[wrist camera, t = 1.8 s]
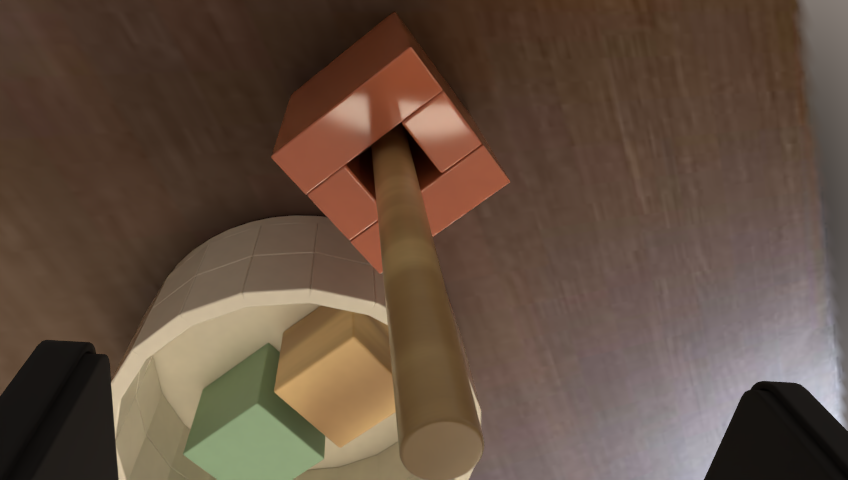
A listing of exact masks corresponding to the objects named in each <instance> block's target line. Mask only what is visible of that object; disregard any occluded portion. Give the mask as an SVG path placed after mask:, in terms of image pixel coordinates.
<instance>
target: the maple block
mask: <svg viewBox="0 0 848 480" xmlns="http://www.w3.org/2000/svg"><path fill="white" fill-rule="evenodd" d="M274 392H275V393H276V394H277V395H278V396H279V397H280V398H281V399H283V400H284V401H285V402H286V403H287V404H289V405H290V406H291V407H292V408H293V409H294V410H296V411H297V412H298V413H299V414H300V415H301V416H303V417H304V418H305V419H306V420H307V421H308V422H310V423H311V424H312V425H313V426H314V427H315V428H317V429H318V430H319V431H320V432H321V433H323V434H324V435H325V436H326V437H327V438H328V439H330V440H331V441H332V442H333V443H334V444H335V445H337V446H338V447H339V448H341V447H343V446H344V445H346V444H348V443H349V442H351V441H352V440H354V439H355V438H357V437H358V436H360V435H361V434H363V433H365V432H366V431H368V430H369V429H371V428H372V427H374V426H375V425H377V424H378V423H380V422H381V421H383V420H385V419H386V418H388V417H389V416H391V415H392V414H394V413H395V412H396V411H395V400H394V389H393V378H392V367H391V356H390V345H389V334H388V325H386V324H384V323H382V322H381V321H379V320H377V319H375V318H373V317H371V316H369V315H365V314H360V313H355V312H351V311H346V310H341V309H336V308H331V307H326V306H320V307H318V308H317V309H315V310H314V311H313V312H311V313H310V314H308V315H307V316H305V317H304V318H303V319H301V320H300V321H298V322H297V323H296V324H294V325H293V326H291V327H290V328H289V329H287V330H286V331H284V333H283V337H282V343H281V349H280V356H279V362H278V368H277V375H276V381H275V387H274Z"/></svg>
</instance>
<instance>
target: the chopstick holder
mask: <svg viewBox="0 0 848 480" xmlns="http://www.w3.org/2000/svg"><path fill="white" fill-rule="evenodd" d="M401 122H402V125H403V126H404V127H405V131H406V135H407V139H408V143H409V147H410V151H411V155H412V158H413V162H414V166H415V170H416V174H417V178H418V182H419V186H420V190H421V194H422V198H423V202H424V206H425V210H426V214H427V217H428V221H429V225H430V229H431V233H432V237H433V236H435V235H436V234H437V233H439V232H440V231H442V230H443V229H445V228H446V227H447V226H449V225H450V224H452V223H453V222H454V221H456V220H457V219H459V218H460V217H461V216H463V215H464V214H466V213H467V212H469V211H470V210H471V209H473V208H474V207H476V206H477V205H478V204H480V203H481V202H483V201H484V200H486V199H487V198H488V197H490V196H491V195H493V194H494V193H495V192H497V191H498V190H500V189H501V188H502V187H504V186H505V185H507V184H508V183H509V182H510V180H509V178H508V177H507V175H506V173H505V172H504V170H503V168H502V167H501V165H500V163H499V162H498V160H497V158H496V157H495V155H494V153H493V152H492V150H491V148H490V147H489V145H488V143H487V142H486V140H485V138H484V136H483V135H482V133H481V131H480V130H479V128H478V126H477V125H476V123H475V121H474V120H473V118H472V116H471V115H470V114H469V112H468V111H467V109H466V108H465V107H464V105H463V104H462V103H461V101H460V100H459V98H458V97H457V96H456V94H455V93H454V92H453V90H452V89H451V88H450V86H449V85H448V83H447V82H446V81H445V79H444V78H443V76H442V75H441V74H440V72H439V71H438V70H437V68H436V67H435V65H434V64H433V63H432V61H431V60H430V59H429V57H428V56H427V55H426V53H425V52H424V50H423V49H422V48H421V47H420V45H419V43H418V42H417V41H416V39H415V38H414V37H413V35H412V34H411V32H410V31H409V30H408V28H407V27H406V26H405V24H404V23H403V21H402V20H401V19H400V17H399V16H398V15H397V13H396V12H393V13H392V14H391V15H389V16H388V17H387V18H386V19H384V20H383V21H382V22H381V23H379V24H378V25H377V26H376V27H374V28H373V29H372V30H371V31H369V32H368V33H367V34H366V35H365V36H363V37H362V38H361V39H360V40H358V41H357V42H356V43H355V44H353V45H352V46H351V47H350V48H348V49H347V50H346V51H345V52H343V53H342V54H341V55H340V56H338V57H337V58H336V59H335V60H333V61H332V62H331V63H330V64H329V65H327V66H326V67H325V68H324V69H322V70H321V71H320V72H319V73H317V74H316V75H315V76H314V77H312V78H311V79H310V80H309V81H307V82H306V83H305V84H304V85H302V86H301V87H300V88H299V89H297V90H296V91H295V92H294V93H293V94H291V97H290V100H289V103H288V106H287V109H286V112H285V115H284V118H283V122H282V125H281V128H280V131H279V134H278V137H277V140H276V143H275V146H274V149H273V152H272V155H271V158H272V159H273V160H274V161H275V162H276V163H277V164H278V165H279V166H280V168H281V169H282V170H283V171H284V172H285V173H286V174H287V175H288V176H289V177H290V178H291V179H292V180H293V181H294V183H295V184H296V185H297V186H298V187H299V188H300V189H301V190H302V191H303V192H304V193H305V194H307V196H308V197H309V198H310V199H311V200H312V201H313V202H314V204H315V205H316V206H317V207H318V208H319V209H320V210H321V211H322V212H323V213H324V214H325V215H326V216H327V218H328V219H329V220H330V221H331V222H332V223H333V224H334V225H335V226H336V227H337V228H338V229H339V230H340V231H341V233H342V234H343V235H344V236H345V237H346V238H347V239H348V240H350V242H351V244H352V245H353V246H354V247H355V248H356V249H357V250H358V251H359V252H360V253H361V254H362V255H363V257H364V258H365V259H366V260H367V261H368V262H369V263H370V264H371V265H372V266H373V267H374V268H375V269H376V271H377V272H378V273H380V274H381V273H382V272H383V269H382V258H381V247H380V236H379V225H378V214H377V203H376V192H375V181H374V170H373V159H372V148H371V145H372V144H373V143H374V142H376V141H377V140H378V139H380V138H381V137H382V136H384V135H385V134H386V133H388V132H389V131H390V130H391V129H393V128H394V127H395V126H397V125H398V124H399V123H401Z"/></svg>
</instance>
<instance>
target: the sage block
mask: <svg viewBox="0 0 848 480" xmlns="http://www.w3.org/2000/svg"><path fill="white" fill-rule="evenodd" d="M279 356H280V352H279V351H278V350H276V349H275V348H274V347H273V346H272V345H271V344H270V343H267V344H266V345H264V346H263V347H261V348H260V349H259V350H257V351H256V352H254V353H253V354H252V355H250V356H249V357H247V358H246V359H245V360H243V361H242V362H240V363H239V364H238V365H236V366H235V367H233V368H232V369H231V370H229V371H228V372H226V373H225V374H224V375H222V376H221V377H219V378H218V379H216V380H215V381H214V382H212V383H211V384H209V385H208V386H207V387H205V388H204V389H203V391H202V394H201V397H200V400H199V404H198V407H197V410H196V413H195V417H194V420H193V423H192V426H191V430H190V433H189V436H188V439H187V443H186V446H185V449H184V452H183V455H184V456H186V457H187V458H188V459H190V460H191V461H192V462H194V463H195V464H196V465H198V466H199V467H201V468H202V469H203V470H205V471H206V472H207V473H209V474H210V475H212V476H213V477H214V478H216V479H217V480H293V479H294V478H296V477H297V476H299V475H300V474H302V473H303V472H305V471H307V470H308V469H310V468H311V467H313V466H314V465H316V464H317V463H319V462H320V461H322V460H323V459H324V454H325V435H324V434H323V433H321V432H320V431H319V430H318V429H317V428H315V427H314V426H313V425H312V424H311V423H310V422H308V421H307V420H306V419H305V418H304V417H303V416H301V415H300V414H299V413H298V412H297V411H296V410H294V409H293V408H292V407H291V406H290V405H289V404H287V403H286V402H285V401H284V400H283V399H281V398H280V397H279V396H278V395H277V394H276V393H275V392H274V387H275V381H276V375H277V368H278V362H279Z"/></svg>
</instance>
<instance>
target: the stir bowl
mask: <svg viewBox="0 0 848 480" xmlns="http://www.w3.org/2000/svg"><path fill="white" fill-rule="evenodd" d="M448 300H449V298H448ZM449 304H450V308H451V312H452V316H453V320H454V324H455V328H456V331H457V335H458V339H459V343H460V347H461V351H462V355H463V359H464V363H465V367H466V371H467V375H468V379H469V383H470V386H471V390H472V394H473V398H474V402H475V406H476V410H477V414H478V418H479V422H480V426H481V407H480V404H479V400H478V396H477V392H476V388H475V385H474V381H473V377H472V373H471V370H470V366H469V362H468V358H467V354H466V351H465V347H464V343H463V339H462V335H461V332H460V330H459V327H458V324H457V322H456V318H455V315H454V312H453V309H452V306H451V303H450V301H449ZM320 306H326V307H331V308H336V309H341V310H346V311H351V312H355V313H360V314H365V315H369V316H371V317H373V318H375V319H377V320H379V321H381V322H382V323H384V324H386V325H388V324H387V313H386V302H385V291H384V280H383V272H382V273H381V274H380V273H378V272H377V271H376V269H375V268H374V267H373V266H372V265H371V264H370V263H369V262H368V261H367V260H366V259H365V258H364V257H363V255H362V254H361V253H360V252H359V251H358V250H357V249H356V248H355V247H354V246H353V245H352V244H351V242H350V240H348V239H347V238H346V237H345V236H344V235H343V234H342V233H341V231H340V230H339V229H338V228H337V227H336V226H335V225H334V224H333V223H332V222H331V221H330V220H329V219H328V218H327V217H321V216H300V215H294V216H282V217H272V218H267V219H262V220H258V221H253V222H249V223H246V224H243V225H240V226H237V227H234V228H231V229H229V230H227V231H225V232H223V233H221V234H219V235H217V236H215V237H213V238H211V239H209V240H208V241H206V242H205V243H203V244H202V245H200V246H199V247H197V248H196V249H194V250H193V251H192V252H190V253H189V254H188V255H187V256H186V257H185V258H184V259H183V260H182V261H180V262H179V263H178V264H177V266H176V267H175V268H174V269H173V270H172V272H171V273H170V274H169V275H168V276H167V278H166V279H165V281H164V282H163V284H162V286H161V287H160V289H159V291H158V292H157V294H156V296H155V298H154V300H153V301H152V303H151V305H150V306H149V308H148V310H147V311H146V313H145V315H144V317H143V319H142V321H141V323H140V325H139V327H138V328H137V330H136V332H135V334H134V336H133V338H132V340H131V342H130V344H129V346H128V348H127V350H126V352H125V354H124V356H123V358H122V360H121V362H120V364H119V366H118V368H117V370H116V371H115V373H114V375H113V377H112V379H111V388H112V401H113V414H114V427H115V440H116V453H117V465H118V478H119V480H217V479H216V478H214V477H213V476H212V475H210V474H209V473H207V472H206V471H205V470H203V469H202V468H201V467H199V466H198V465H196V464H195V463H194V462H192V461H191V460H190V459H188V458H187V457H186V456H184V455H183V452H184V449H185V446H186V443H187V439H188V436H189V433H190V430H191V426H192V423H193V420H194V417H195V413H196V410H197V407H198V404H199V400H200V397H201V394H202V391H203V389H204V388H205V387H207V386H208V385H209V384H211V383H212V382H214V381H215V380H216V379H218V378H219V377H221V376H222V375H224V374H225V373H226V372H228V371H229V370H231V369H232V368H233V367H235V366H236V365H238V364H239V363H240V362H242V361H243V360H245V359H246V358H247V357H249V356H250V355H252V354H253V353H254V352H256V351H257V350H259V349H260V348H261V347H263V346H264V345H266V344H267V343H270V344H271V345H272V346H273V347H274V348H275V349H276V350H278V351H279V352H280V349H281V343H282V337H283V333H284V331H286V330H287V329H289V328H290V327H291V326H293V325H294V324H296V323H297V322H298V321H300V320H301V319H303V318H304V317H305V316H307V315H308V314H310V313H311V312H313V311H314V310H315V309H317V308H318V307H320ZM473 469H474V468H473ZM473 469H471V470H470V471H469V472H467V473H466V474H464V475H462V476H460V477H458V478H455V479H451V480H468V479H469V477H470V475H471V473H472V471H473ZM293 480H424V479H421V478H418V477H416V476H414V475H413V474H411V473H410V472H409V471H408V470H407V469H406V468H405V466H404V465H403V463H402V461H401V459H400V455H399V444H398V433H397V422H396V412H395V413H394V414H392V415H391V416H389V417H388V418H386V419H385V420H383V421H381V422H380V423H378V424H377V425H375V426H374V427H372V428H371V429H369V430H368V431H366V432H365V433H363V434H361V435H360V436H358V437H357V438H355V439H354V440H352V441H351V442H349V443H348V444H346V445H344V446H343V447H341V448H339V447H338V446H337V445H335V444H334V443H333V442H332V441H331V440H330V439H328V438H327V437H326V436H325V454H324V459H323V460H322V461H320V462H319V463H317V464H316V465H314V466H313V467H311V468H310V469H308V470H307V471H305V472H303V473H302V474H300V475H299V476H297V477H296V478H294V479H293Z"/></svg>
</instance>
